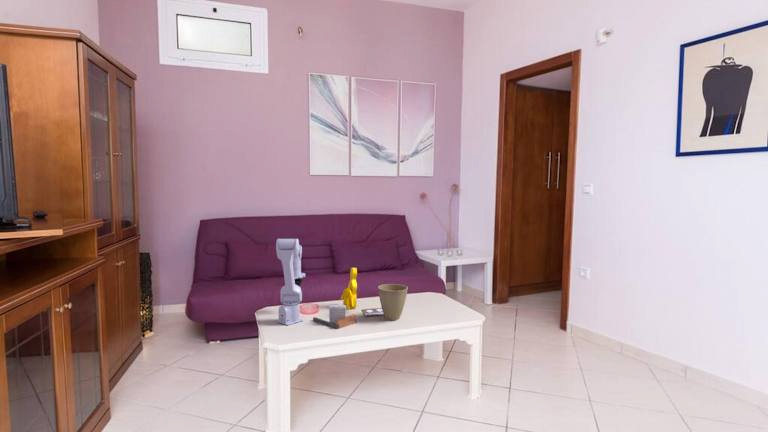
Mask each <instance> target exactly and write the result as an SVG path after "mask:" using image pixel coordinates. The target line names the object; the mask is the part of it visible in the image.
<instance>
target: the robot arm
mask: <svg viewBox="0 0 768 432" xmlns="http://www.w3.org/2000/svg"><path fill="white" fill-rule="evenodd" d="M302 246H303V245H300V239H298V238H277V239H276V244H275V250H276V251H275V252H276V256H277V259H278V260H280V261H281V265H282V271H283V277H284V285H283V286H282V287H281V288H280V302H281V304H282V305H281V306H280V305H279V308H278V320H277V323H280V324H283V325H286V326H289V325H294V324H296V323H300V322H303V319H301V318H300V303H301V302H302V300H303V291H302V288H301V284H302V282H303V278H306V273H305V272H302V254H303V247H302Z"/></svg>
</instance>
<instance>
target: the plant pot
mask: <svg viewBox="0 0 768 432" xmlns="http://www.w3.org/2000/svg"><path fill="white" fill-rule="evenodd" d="M377 287H378V289H377V290H378V297H379V301H380V305H381V306H380V307H381V309H382V312H383V316H384V318H385V319H386V320H388V321H398V320H399V319H400V318H401V315H402V313H403V310H404V307H405V303H406V300H407V295H408V290H409V288H408V286H406V285H404V284H397V283H385V284H381V285H378V286H377Z"/></svg>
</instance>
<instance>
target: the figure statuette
mask: <svg viewBox="0 0 768 432" xmlns="http://www.w3.org/2000/svg"><path fill="white" fill-rule="evenodd" d="M349 273H350V275H349V276H350V280H349V283H348V286H346V287H345V288H344V289H343V292H342V295H341V297H340V300H341V301H343V303H342V305H346V310H350V309H356V308H357V297H358V296H357V290H358V283H357V276H358V270H357V267H350V271H349Z"/></svg>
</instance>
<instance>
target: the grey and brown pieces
mask: <svg viewBox="0 0 768 432" xmlns="http://www.w3.org/2000/svg"><path fill="white" fill-rule="evenodd" d="M356 316H357V315H356V314H351V315H346V317H343V318H340V319H337V320H336V324H334V323H331V322H329V321H328V320H324V319H322V318H318V317H313V318H312V321H313V322H316V323H319V324H321V325H325V326H328V327H330V328H334V329H337V330H339V329H341V328H345V327H348V326H351V325H352V326H353V325H354V324H357V323H358V322H357V321H358V320H357V317H356Z"/></svg>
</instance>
